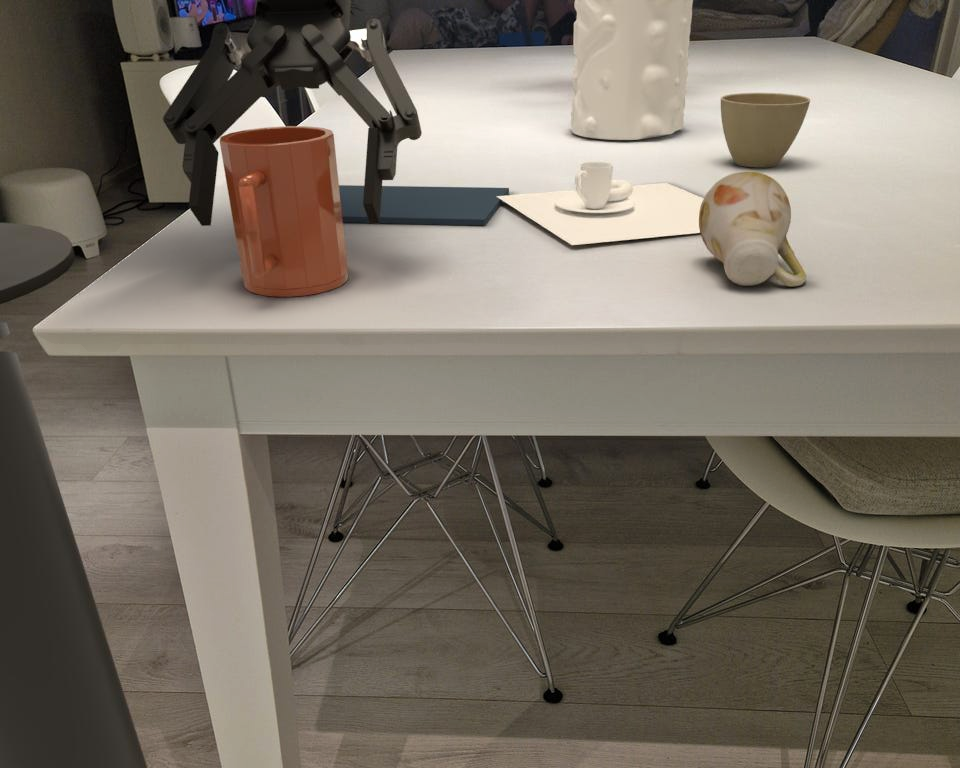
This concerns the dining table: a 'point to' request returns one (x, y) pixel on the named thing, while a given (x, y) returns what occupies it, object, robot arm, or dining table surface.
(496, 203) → the mat
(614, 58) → the vase
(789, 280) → the floral patterned cup
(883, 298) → the dining table surface
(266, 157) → the tall mug
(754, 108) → the flower pot
